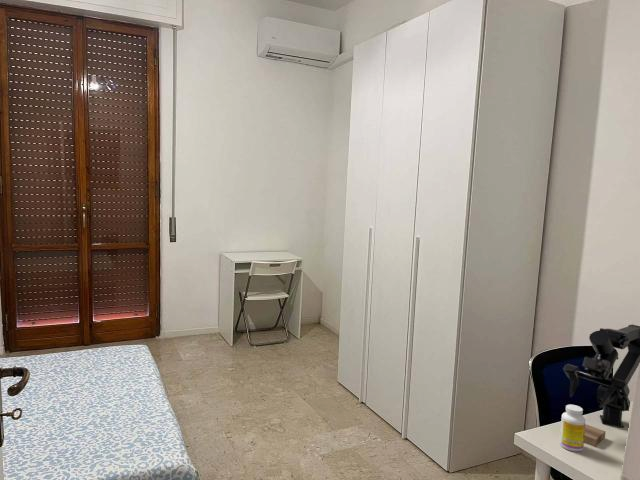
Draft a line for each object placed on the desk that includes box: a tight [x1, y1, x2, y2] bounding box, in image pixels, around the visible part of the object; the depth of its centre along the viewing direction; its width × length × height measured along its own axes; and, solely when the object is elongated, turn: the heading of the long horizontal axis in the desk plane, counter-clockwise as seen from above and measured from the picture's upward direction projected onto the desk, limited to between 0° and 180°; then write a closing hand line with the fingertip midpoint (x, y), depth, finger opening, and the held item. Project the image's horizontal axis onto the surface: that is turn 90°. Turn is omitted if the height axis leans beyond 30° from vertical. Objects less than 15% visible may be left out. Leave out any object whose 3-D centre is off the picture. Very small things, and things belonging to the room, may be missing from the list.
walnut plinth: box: [584, 423, 607, 448], centre depth 152 cm, size 8×8×2 cm
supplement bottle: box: [559, 404, 586, 452], centre depth 146 cm, size 7×7×13 cm
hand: (585, 401), depth 149 cm, fingers open, 9 cm apart
